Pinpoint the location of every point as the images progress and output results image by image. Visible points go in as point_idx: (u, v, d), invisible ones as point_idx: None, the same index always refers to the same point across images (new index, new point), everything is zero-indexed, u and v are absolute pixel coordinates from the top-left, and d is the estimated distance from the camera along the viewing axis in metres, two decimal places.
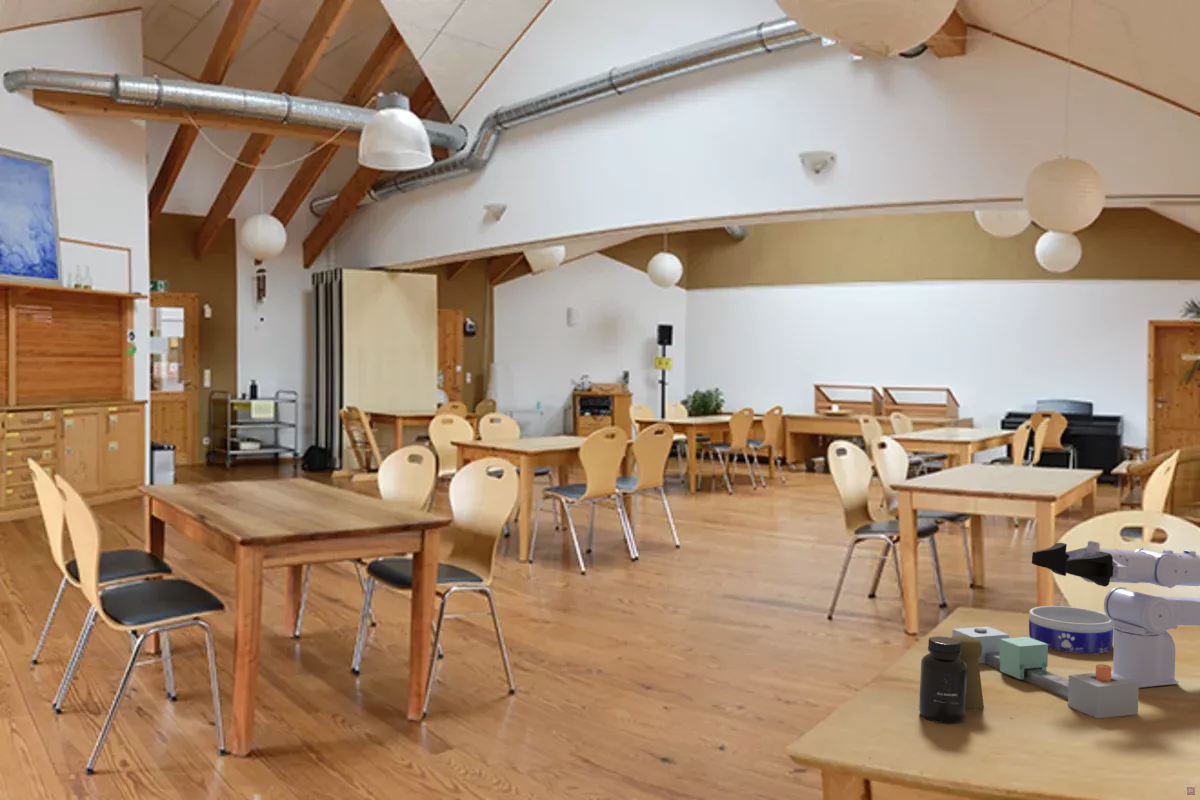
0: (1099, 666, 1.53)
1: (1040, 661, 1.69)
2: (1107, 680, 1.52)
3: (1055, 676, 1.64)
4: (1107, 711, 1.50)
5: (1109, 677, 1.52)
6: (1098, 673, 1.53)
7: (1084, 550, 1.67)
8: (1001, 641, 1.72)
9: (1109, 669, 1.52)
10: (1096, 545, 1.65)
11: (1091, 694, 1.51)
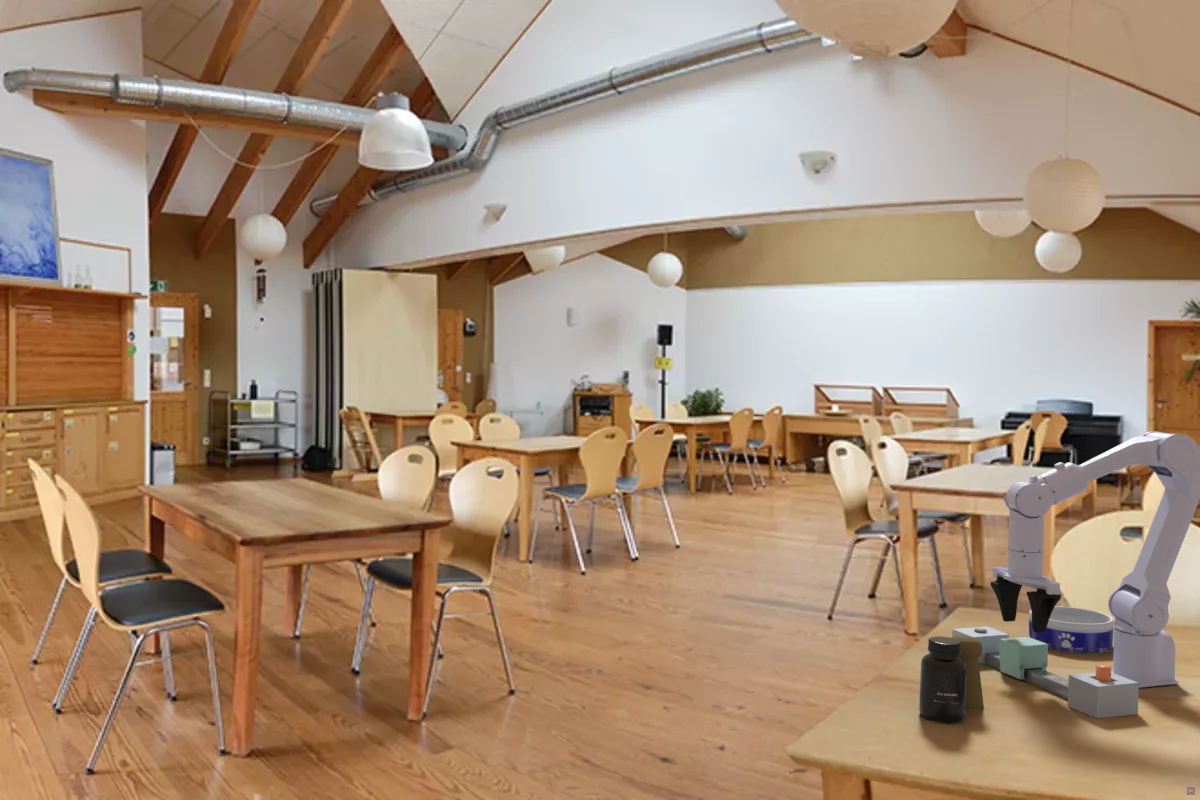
0: (1099, 666, 1.53)
1: (1040, 661, 1.69)
2: (1107, 680, 1.52)
3: (1055, 676, 1.64)
4: (1107, 711, 1.50)
5: (1109, 677, 1.52)
6: (1098, 673, 1.53)
7: None
8: (1001, 641, 1.72)
9: (1109, 669, 1.52)
10: (1012, 580, 1.68)
11: (1091, 694, 1.51)
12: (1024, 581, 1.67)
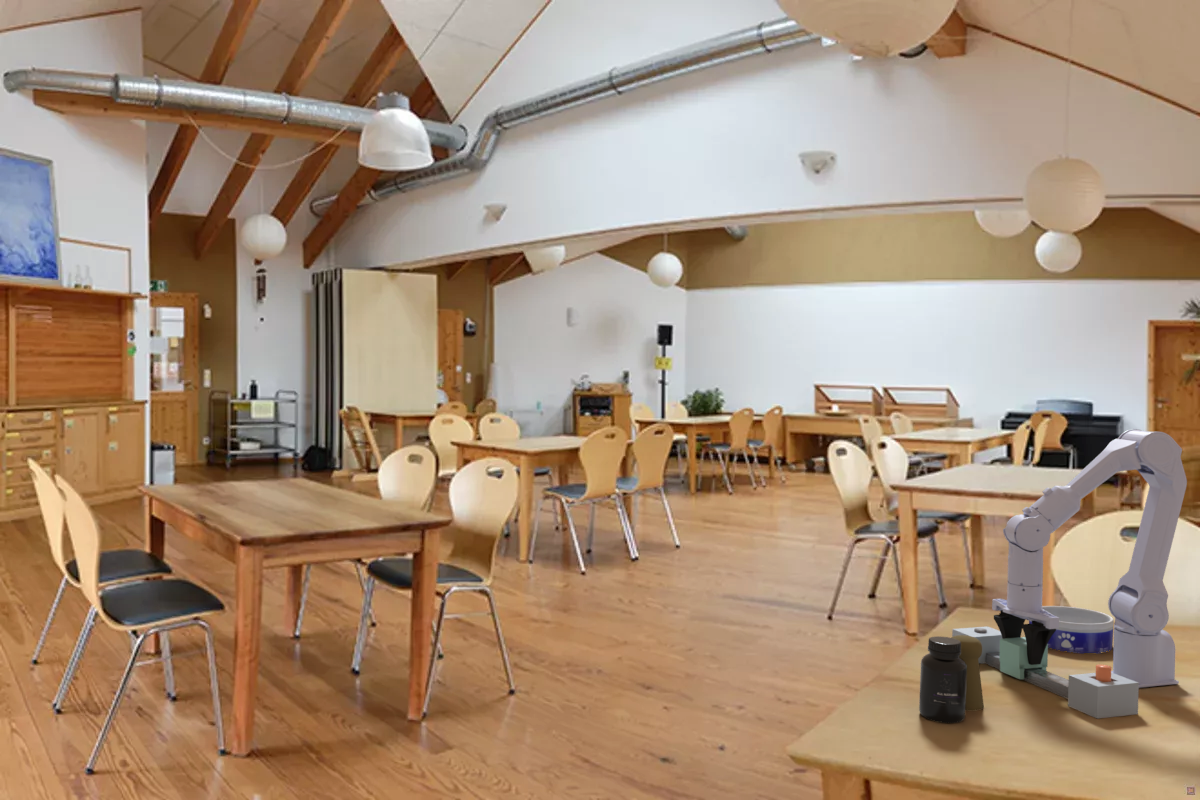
0: (1099, 666, 1.53)
1: None
2: (1107, 680, 1.52)
3: (1055, 676, 1.64)
4: (1107, 711, 1.50)
5: (1109, 677, 1.52)
6: (1098, 673, 1.53)
7: None
8: (1001, 641, 1.72)
9: (1109, 669, 1.52)
10: (1011, 613, 1.69)
11: (1091, 694, 1.51)
12: (1023, 615, 1.67)
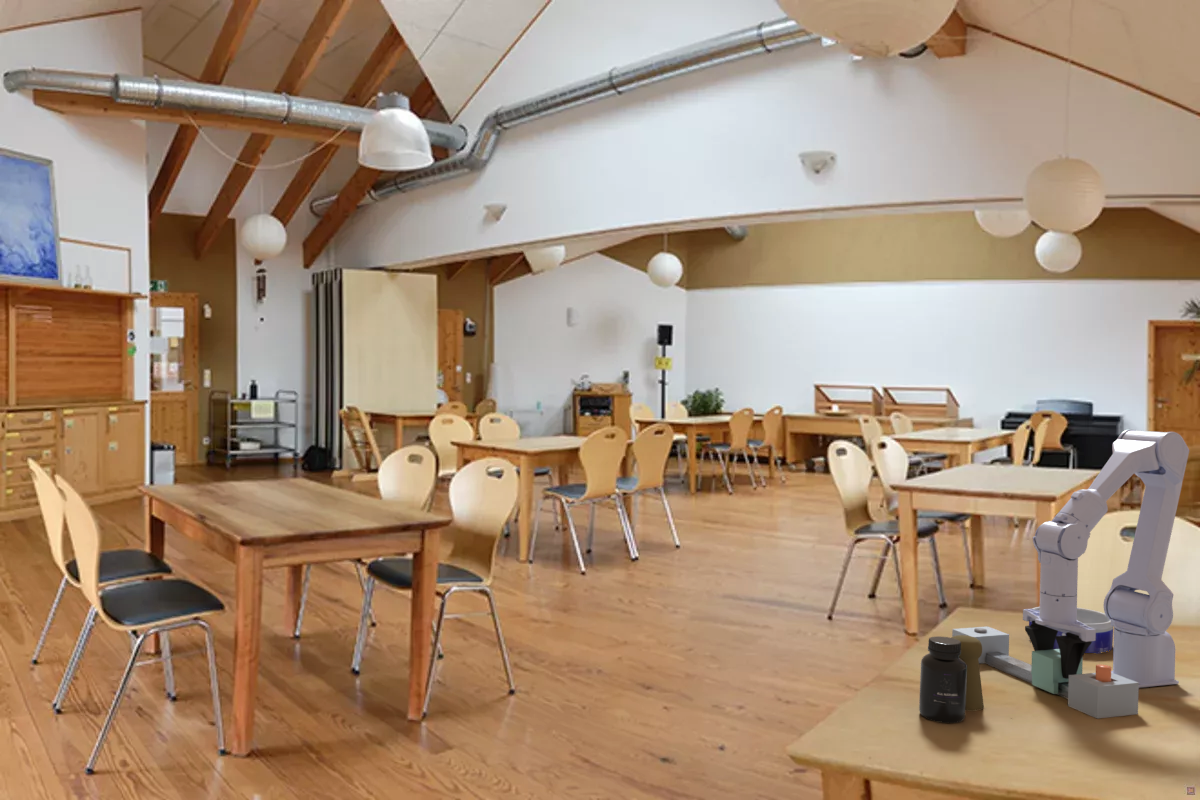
0: (1099, 666, 1.53)
1: None
2: (1107, 680, 1.52)
3: None
4: (1107, 711, 1.50)
5: (1109, 677, 1.52)
6: (1098, 673, 1.53)
7: None
8: (1033, 653, 1.64)
9: (1109, 669, 1.52)
10: (1044, 624, 1.61)
11: (1091, 694, 1.51)
12: (1057, 626, 1.60)
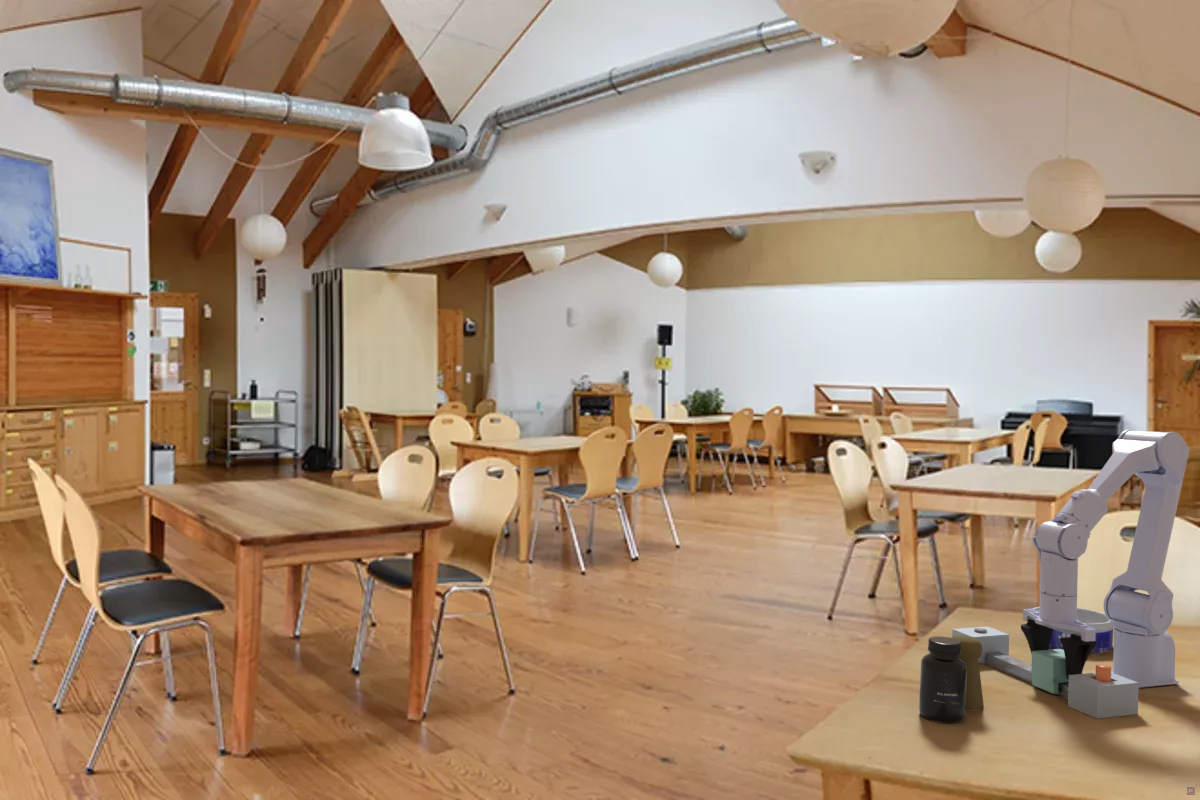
0: (1099, 666, 1.53)
1: None
2: (1107, 680, 1.52)
3: None
4: (1107, 711, 1.50)
5: (1109, 677, 1.52)
6: (1098, 673, 1.53)
7: None
8: (1033, 653, 1.64)
9: (1109, 669, 1.52)
10: (1044, 624, 1.61)
11: (1091, 694, 1.51)
12: (1057, 626, 1.60)
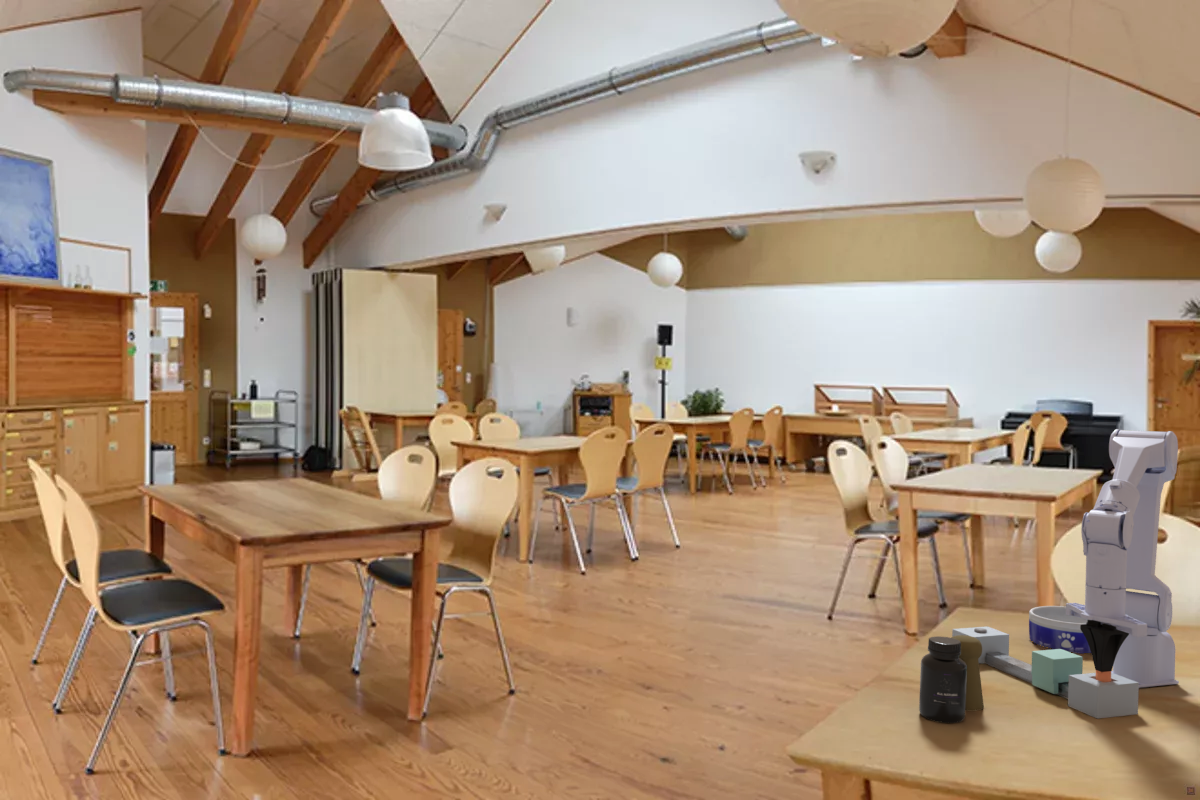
0: None
1: None
2: None
3: None
4: (1107, 711, 1.50)
5: (1109, 681, 1.52)
6: (1098, 677, 1.53)
7: None
8: (1033, 653, 1.64)
9: (1109, 673, 1.52)
10: (1091, 619, 1.51)
11: (1091, 694, 1.51)
12: (1105, 621, 1.50)
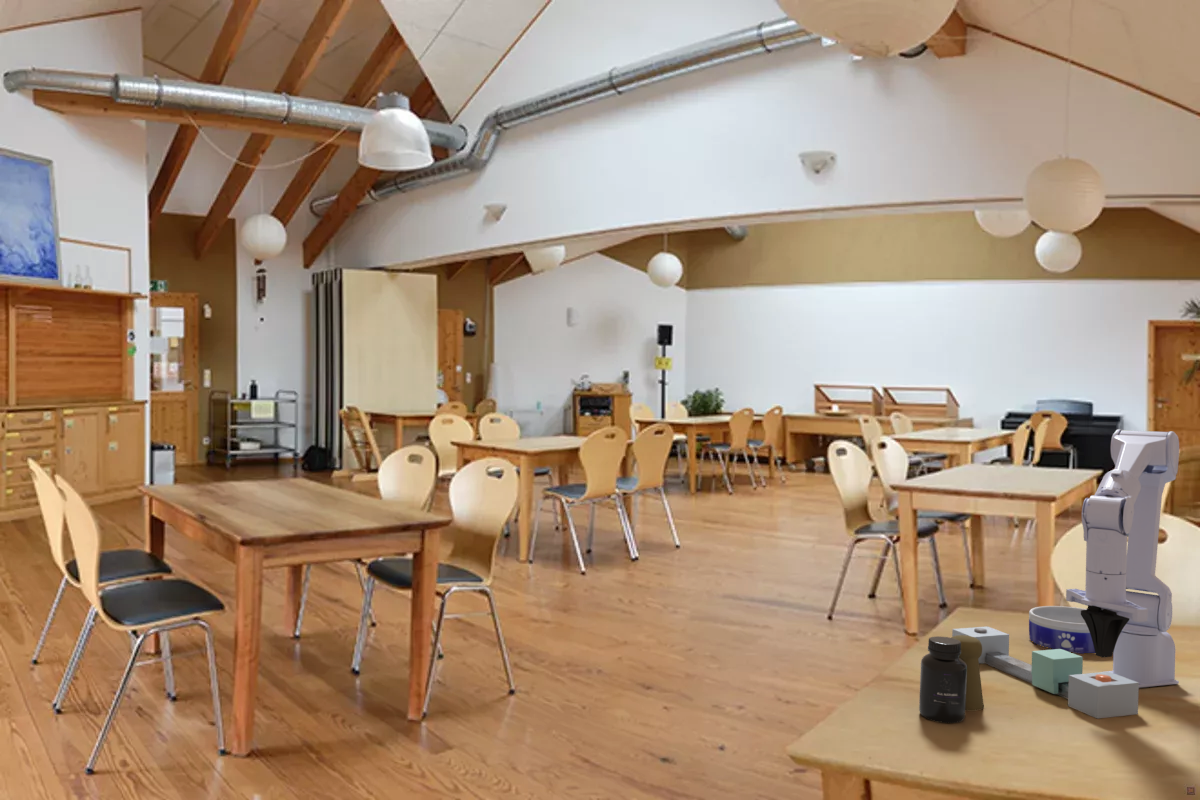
0: (1099, 676, 1.53)
1: None
2: None
3: None
4: (1107, 711, 1.50)
5: None
6: None
7: None
8: (1033, 653, 1.64)
9: (1109, 679, 1.52)
10: (1092, 605, 1.51)
11: (1091, 694, 1.51)
12: (1106, 606, 1.50)
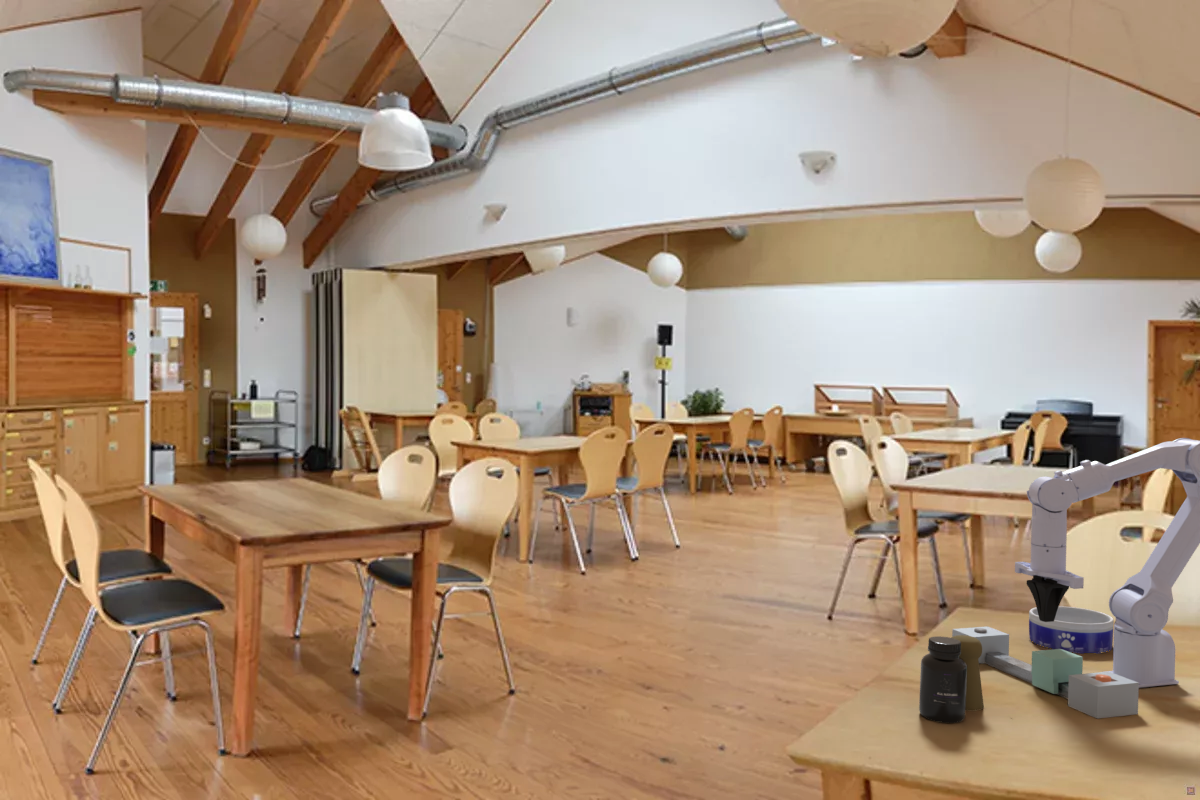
0: (1099, 676, 1.53)
1: None
2: None
3: None
4: (1107, 711, 1.50)
5: None
6: None
7: None
8: (1033, 653, 1.64)
9: (1109, 679, 1.52)
10: (1035, 574, 1.69)
11: (1091, 694, 1.51)
12: (1047, 575, 1.67)
